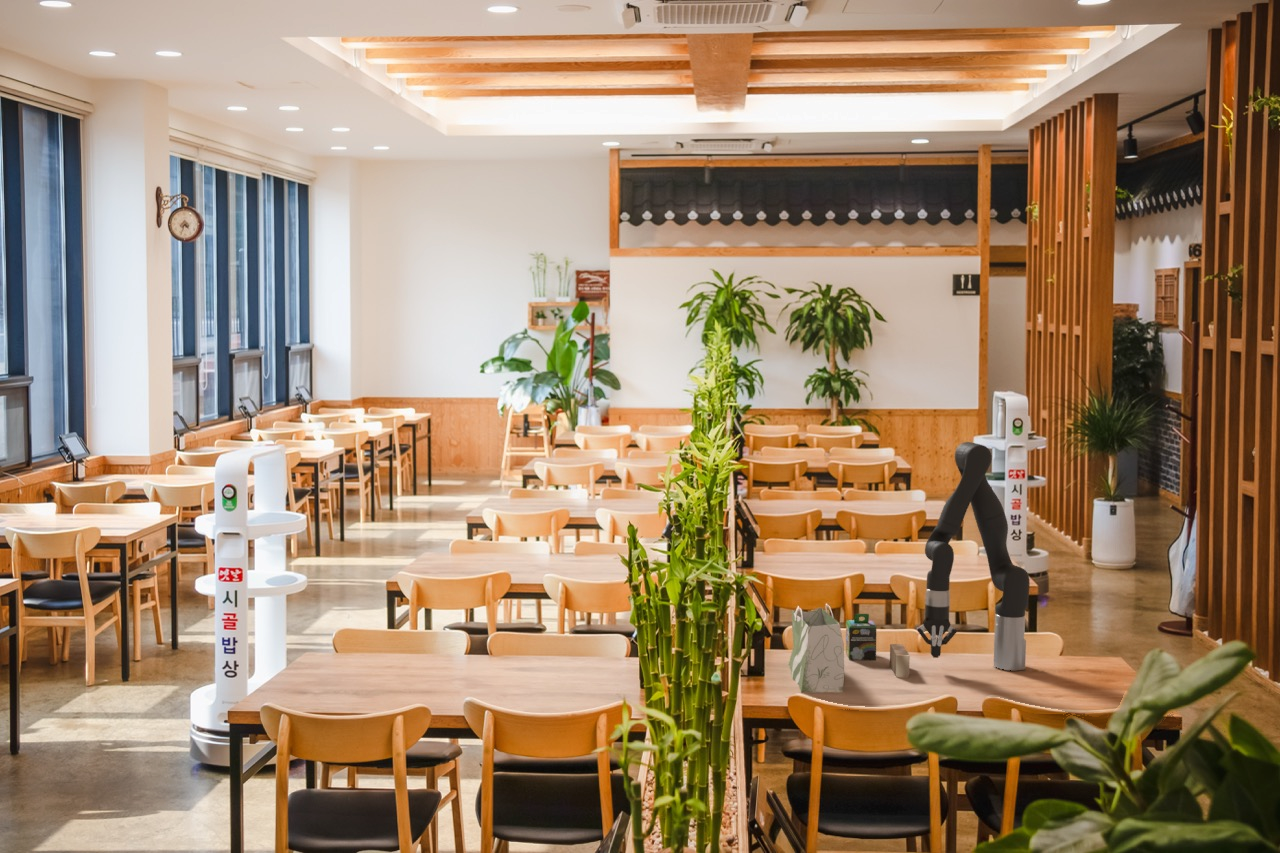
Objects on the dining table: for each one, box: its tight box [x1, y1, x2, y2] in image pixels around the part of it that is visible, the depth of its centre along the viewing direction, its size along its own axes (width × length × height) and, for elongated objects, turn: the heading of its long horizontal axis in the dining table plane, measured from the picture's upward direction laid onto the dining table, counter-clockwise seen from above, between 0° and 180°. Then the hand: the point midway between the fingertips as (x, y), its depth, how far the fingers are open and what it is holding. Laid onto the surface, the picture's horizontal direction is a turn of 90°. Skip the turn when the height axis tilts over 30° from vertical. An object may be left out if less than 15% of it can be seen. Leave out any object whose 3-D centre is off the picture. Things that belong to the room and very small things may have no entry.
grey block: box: [889, 643, 911, 679], centre depth 413 cm, size 4×7×14 cm
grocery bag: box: [788, 603, 845, 694], centre depth 404 cm, size 32×14×23 cm, turn 2°
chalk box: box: [845, 613, 878, 661], centre depth 430 cm, size 9×9×15 cm
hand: (935, 657), depth 412 cm, fingers closed
